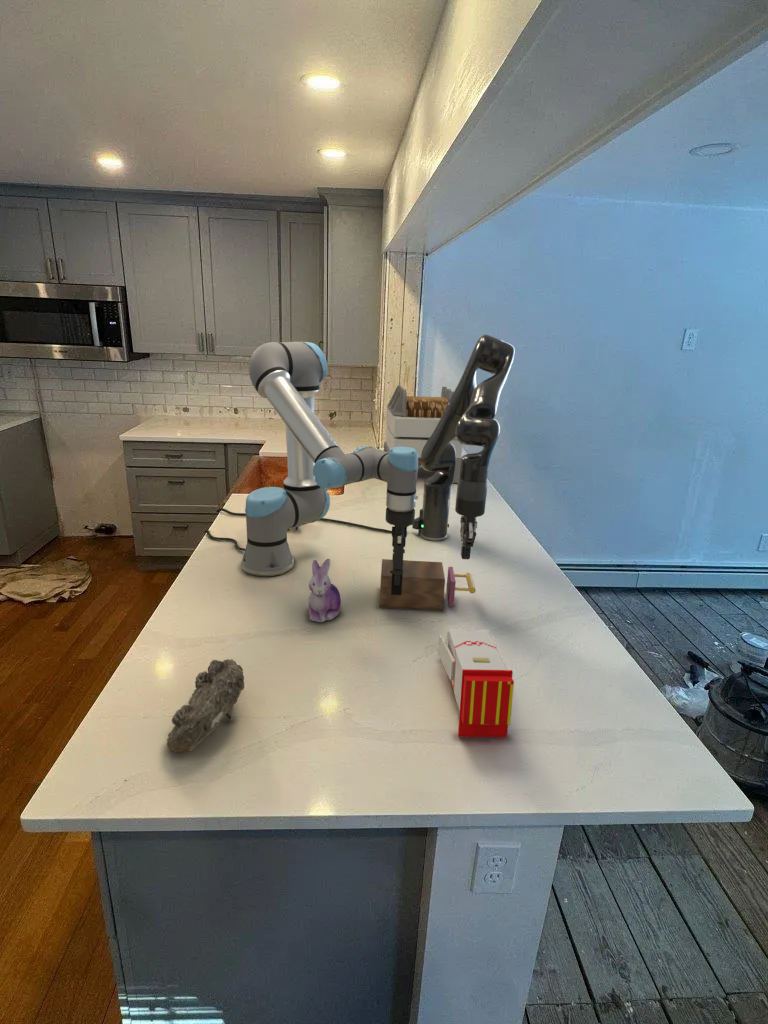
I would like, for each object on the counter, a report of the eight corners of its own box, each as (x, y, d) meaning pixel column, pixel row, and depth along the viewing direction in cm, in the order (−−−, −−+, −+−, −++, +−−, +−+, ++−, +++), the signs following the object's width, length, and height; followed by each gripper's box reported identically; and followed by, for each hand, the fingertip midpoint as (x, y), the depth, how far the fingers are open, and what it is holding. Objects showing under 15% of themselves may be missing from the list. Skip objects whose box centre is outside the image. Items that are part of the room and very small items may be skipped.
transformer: (382, 463, 289) (386, 382, 275) (445, 464, 293) (451, 384, 279) (390, 482, 257) (394, 392, 243) (460, 483, 261) (468, 394, 247)
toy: (488, 613, 130) (523, 677, 101) (484, 667, 133) (517, 744, 104) (435, 612, 130) (455, 676, 101) (432, 666, 133) (451, 743, 103)
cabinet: (439, 592, 160) (442, 562, 157) (442, 611, 150) (445, 578, 147) (380, 589, 160) (382, 558, 157) (379, 607, 150) (380, 575, 147)
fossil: (192, 660, 117) (244, 628, 112) (224, 691, 120) (276, 661, 115) (142, 746, 98) (202, 712, 93) (182, 779, 101) (242, 748, 96)
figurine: (314, 627, 139) (314, 572, 134) (300, 608, 148) (299, 555, 143) (349, 619, 143) (350, 565, 138) (333, 601, 152) (334, 550, 147)
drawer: (469, 592, 159) (472, 567, 156) (473, 608, 150) (476, 583, 148) (395, 588, 159) (397, 563, 156) (395, 604, 150) (396, 578, 148)
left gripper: (416, 524, 135) (410, 606, 143) (414, 494, 157) (409, 567, 164) (384, 522, 135) (381, 604, 143) (387, 493, 157) (383, 565, 164)
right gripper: (490, 504, 138) (482, 569, 144) (482, 488, 151) (476, 548, 157) (459, 503, 138) (453, 567, 144) (454, 486, 151) (448, 546, 157)
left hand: (396, 584), depth 154 cm, fingers closed on cabinet, 10 cm apart
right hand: (465, 557), depth 150 cm, fingers closed
